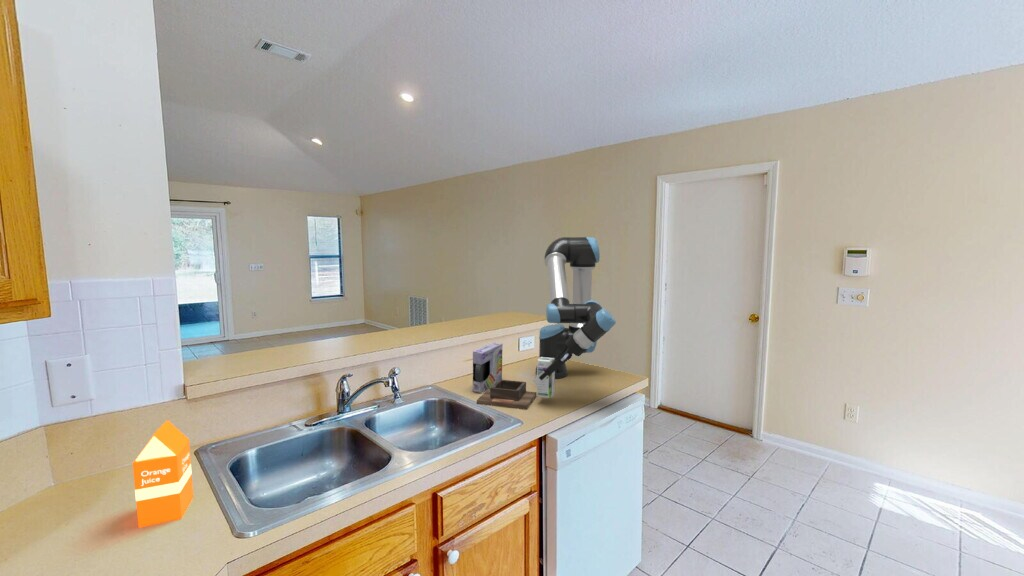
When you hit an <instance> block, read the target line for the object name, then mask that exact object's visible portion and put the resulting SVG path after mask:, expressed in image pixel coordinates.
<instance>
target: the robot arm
mask: <svg viewBox="0 0 1024 576" xmlns="http://www.w3.org/2000/svg"><path fill="white" fill-rule="evenodd" d="M600 256H601V255H600V247H599V243H598V240H597V239H596V238H595V237H591V236H589V237H587V236H584V237H583V236H580V237H579V236H578V237H577V236H576V237H573V236H572V237H571V236H570V237H567V236H563V237H559V238H557V239H555V240H553V241H552V242H551V243H550V244H549V245H548V246H547V248H546V250H545V253H544V264H545V266H546V267H547V276H548V289H549V290H548V291H549V300H550V303H548V304H547V305H546V306H545V307H546V308H545V309H546V310H545V312H546V313H545V314H546V315H545V316H546V321H547V323H549V324H550V325H549V324H548V325H546V326H542V327H541V328H540V330H539V334H538V335H539V337H538V340H539V348H538V349H539V350H538V351H539V353H538V355H539V356H538V359H539V358H540V357H547V358H555V361H554V362H553V363H552V364H551V365H550V366H549V367H548V368H547V369H543V372H541V373H540V374H539V375H538V376H537V366H536V367H535V376H536V377H534V378H533V380H532V381H531V382H532V383H533V384H534V385H535V387H537V386H538V385H539V384H540V383H541V382H542V381H544V380H545V379H546V378H547V377H548V376H550V375H551V374H552V373H553V372H554V371H555V380H557V379H563V378H566V377H567V376H568V368H567V364H566V362H567V361H569V360H570V359H571V358H572V356H573V355H575V356H577V357H581V355H582V354H589V353H593V352H594V351H595V349H596V347H597V344H598V343H597V342H598V340H600V339H601V338H602V337H603V336H604V335H606V333H608V332H609V331H610V330H611V329H612V328H613V327H614V326H615V325H616V319H615V317H613V315H612V314H611V312H609V311H608V310H607V309H606V308H603V307H602V305H601V304H600V303H599V302H598V301H597V300H593V299H592V283H593V282H592V280H593V270H594V269H595V268H596V264H598V263H599V262H600V258H601V257H600ZM568 263H569V267H570V268H571V270H572V276H573V277H572V303H570V295H569V289H568V281H567V274H566V273H567V271H566V266H565V265H566V264H568ZM564 324H568V327H565V325H564Z"/></svg>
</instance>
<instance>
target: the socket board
mask: <svg viewBox="0 0 1024 576" xmlns="http://www.w3.org/2000/svg"><path fill="white" fill-rule="evenodd" d="M536 397H537V391H536V392H535V391H527V382H526V381H522V380H521V381H519V380H508V379H502V380H500V379H499V380H498V381H497V382H496V383H495V384H494V385H493V386H492V387H491V388H489V389H487V390H486V391H484V392H483V393H482V395H481V396H479V398H477V399H476V405H483V404H484V406H491V405H492V406H491V407H500V408H501V407H502V408H509V409H510V408H511V409H517V408H519V410H526V411H527V410H528V409H529V407H530V406H531V404H532V403H533V402H534V401H535V399H536Z"/></svg>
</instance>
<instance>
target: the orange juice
mask: <svg viewBox="0 0 1024 576" xmlns="http://www.w3.org/2000/svg"><path fill="white" fill-rule="evenodd" d="M190 448H191V447H190V438H188V437H187V435H185V434H184V433H183V432H181V430H179V428H177V427H175V425H174V424H173V423H171V422H170V421H169V420H168V419H166V421H164V422H163V423H162V425H161V426H160V427H159V428H158V429H156V431H155V432H154V433H152V437H151V438H150V439H149V441H148V442H147V443H146V445H144V448H143V449H142V450H141V452H140V453H139V454H138V455H137V457H136V458H135V459H134V460H133V462H132V469H133V480H134V495H135V496H134V497H135V502H136V512H137V513H136V514H137V524H138V527H137V528H138V529H139V528H144V527H148V526H153V525H154V526H155V525H158V524H162V523H163V524H164V523H166V522H171V521H177V520H182V519H183V518H184V515H185V514H186V511H187V510H188V508H189V506H190V504H191V502H192V501H193V499H194V487H193V472H192V461H191V449H190Z"/></svg>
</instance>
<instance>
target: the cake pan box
mask: <svg viewBox="0 0 1024 576" xmlns="http://www.w3.org/2000/svg"><path fill="white" fill-rule="evenodd" d="M499 379H500V380H503V343H501V342H496V341H494V342H493V343H490V344H488V345H485V346H481V347H480V348H477V349H476V350H473V351H472V392H473V393H477V392H478V394H483V393H485V392H486V391H487V390H488V389H489V388H491V387H492V386H493V385H494V384H495V383H496V382H497V381H498V380H499ZM482 392H483V393H482Z"/></svg>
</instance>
